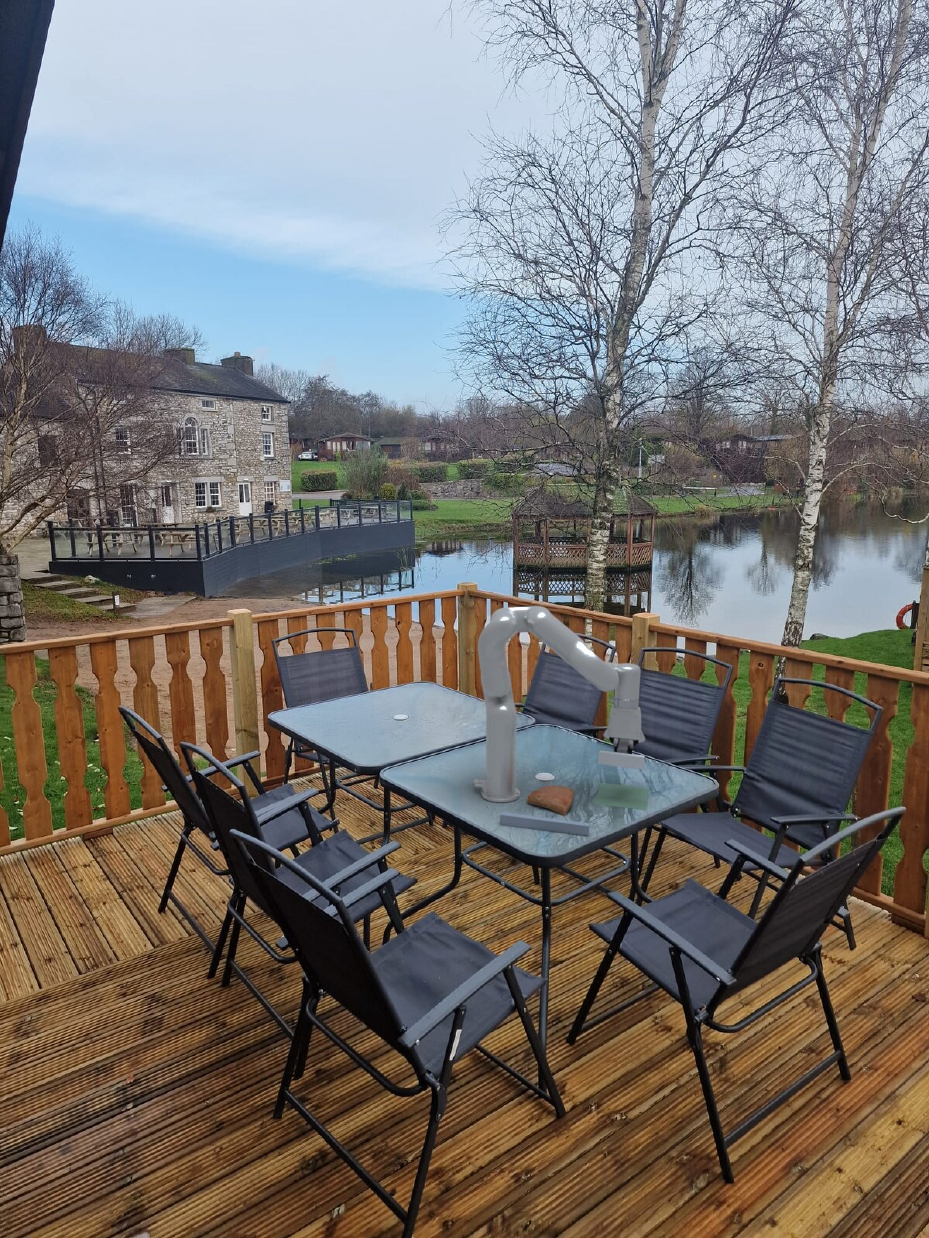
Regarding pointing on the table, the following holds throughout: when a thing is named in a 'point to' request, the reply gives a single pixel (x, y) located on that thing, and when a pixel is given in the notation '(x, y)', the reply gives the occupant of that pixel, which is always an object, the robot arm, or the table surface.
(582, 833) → the board
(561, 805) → the ceramic shard
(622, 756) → the scraper
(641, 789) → the mat
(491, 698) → the robot arm
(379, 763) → the table surface
